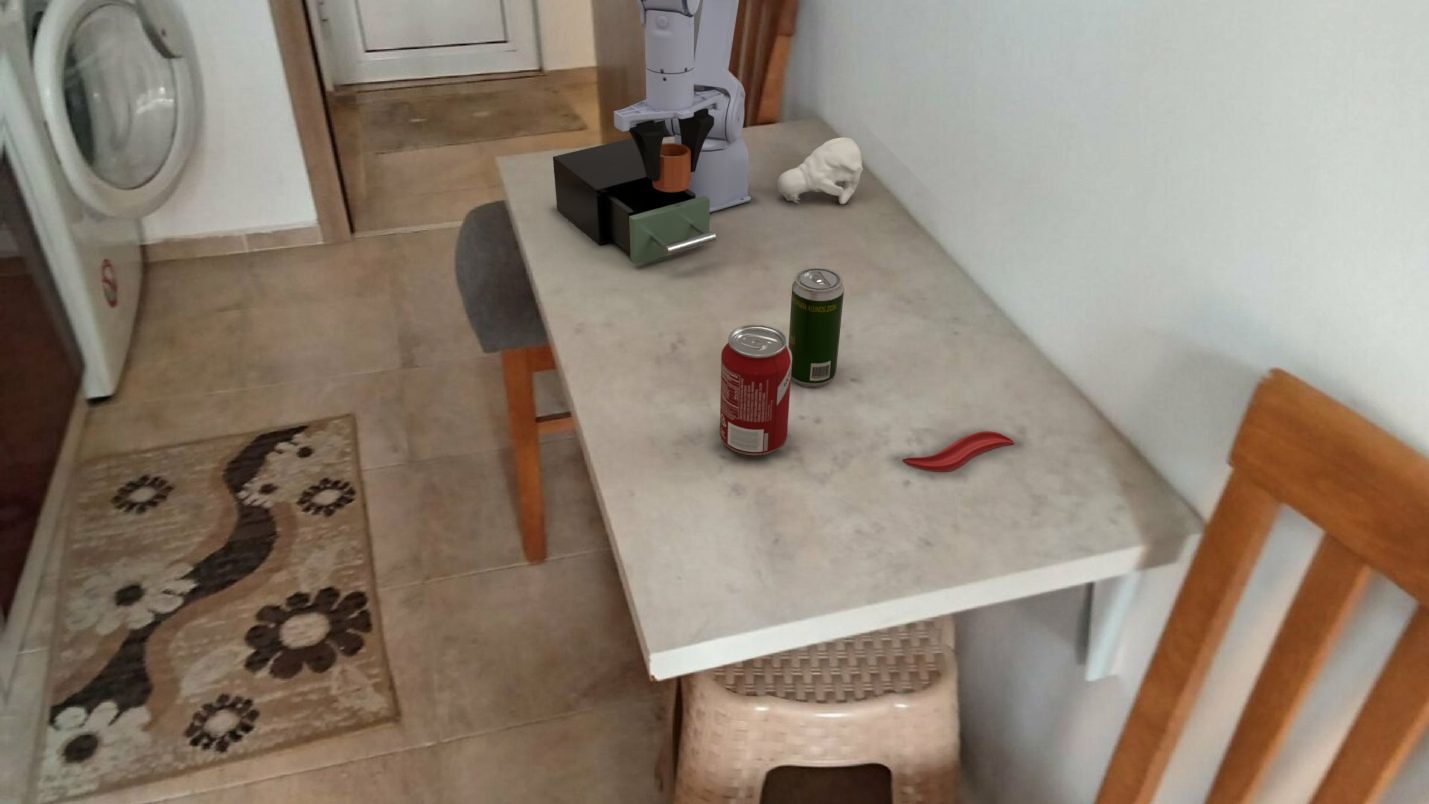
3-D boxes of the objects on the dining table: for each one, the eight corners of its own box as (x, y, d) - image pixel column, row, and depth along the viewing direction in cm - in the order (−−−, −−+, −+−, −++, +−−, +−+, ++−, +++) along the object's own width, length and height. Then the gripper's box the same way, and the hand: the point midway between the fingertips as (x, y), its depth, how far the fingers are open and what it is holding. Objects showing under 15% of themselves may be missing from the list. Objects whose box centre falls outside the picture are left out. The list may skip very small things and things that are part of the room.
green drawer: (729, 257, 137) (730, 212, 134) (654, 280, 132) (653, 234, 129) (664, 210, 148) (663, 167, 144) (592, 230, 143) (589, 186, 139)
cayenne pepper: (909, 474, 104) (911, 459, 103) (895, 445, 108) (897, 430, 107) (1026, 463, 106) (1030, 448, 105) (1009, 435, 109) (1012, 420, 108)
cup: (677, 173, 139) (676, 139, 136) (697, 187, 135) (698, 152, 133) (645, 181, 136) (644, 147, 134) (665, 195, 133) (664, 160, 130)
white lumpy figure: (867, 145, 147) (782, 160, 146) (866, 201, 152) (785, 216, 151) (852, 128, 152) (770, 142, 151) (852, 183, 157) (773, 197, 156)
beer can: (845, 381, 117) (854, 285, 110) (802, 393, 115) (809, 296, 108) (819, 356, 121) (827, 262, 114) (777, 368, 119) (783, 272, 112)
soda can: (765, 469, 104) (770, 367, 97) (707, 445, 107) (707, 345, 100) (798, 433, 109) (805, 333, 102) (741, 412, 112) (744, 313, 105)
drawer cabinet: (679, 223, 147) (679, 168, 142) (599, 245, 141) (596, 189, 137) (634, 190, 155) (632, 137, 151) (556, 210, 150) (552, 156, 145)
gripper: (633, 86, 121) (636, 198, 129) (739, 65, 128) (736, 172, 136) (603, 69, 126) (608, 177, 134) (706, 49, 133) (705, 154, 140)
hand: (670, 174), depth 135 cm, fingers closed on cup, 5 cm apart
